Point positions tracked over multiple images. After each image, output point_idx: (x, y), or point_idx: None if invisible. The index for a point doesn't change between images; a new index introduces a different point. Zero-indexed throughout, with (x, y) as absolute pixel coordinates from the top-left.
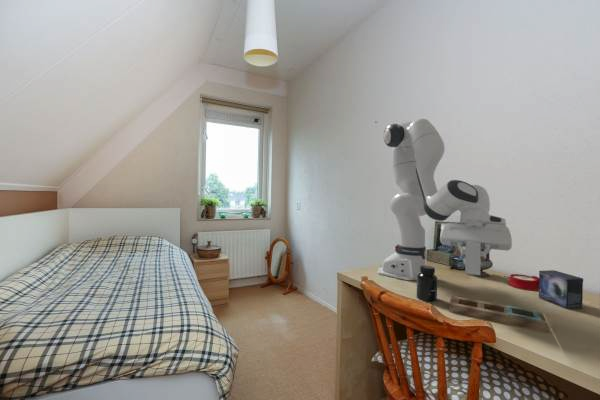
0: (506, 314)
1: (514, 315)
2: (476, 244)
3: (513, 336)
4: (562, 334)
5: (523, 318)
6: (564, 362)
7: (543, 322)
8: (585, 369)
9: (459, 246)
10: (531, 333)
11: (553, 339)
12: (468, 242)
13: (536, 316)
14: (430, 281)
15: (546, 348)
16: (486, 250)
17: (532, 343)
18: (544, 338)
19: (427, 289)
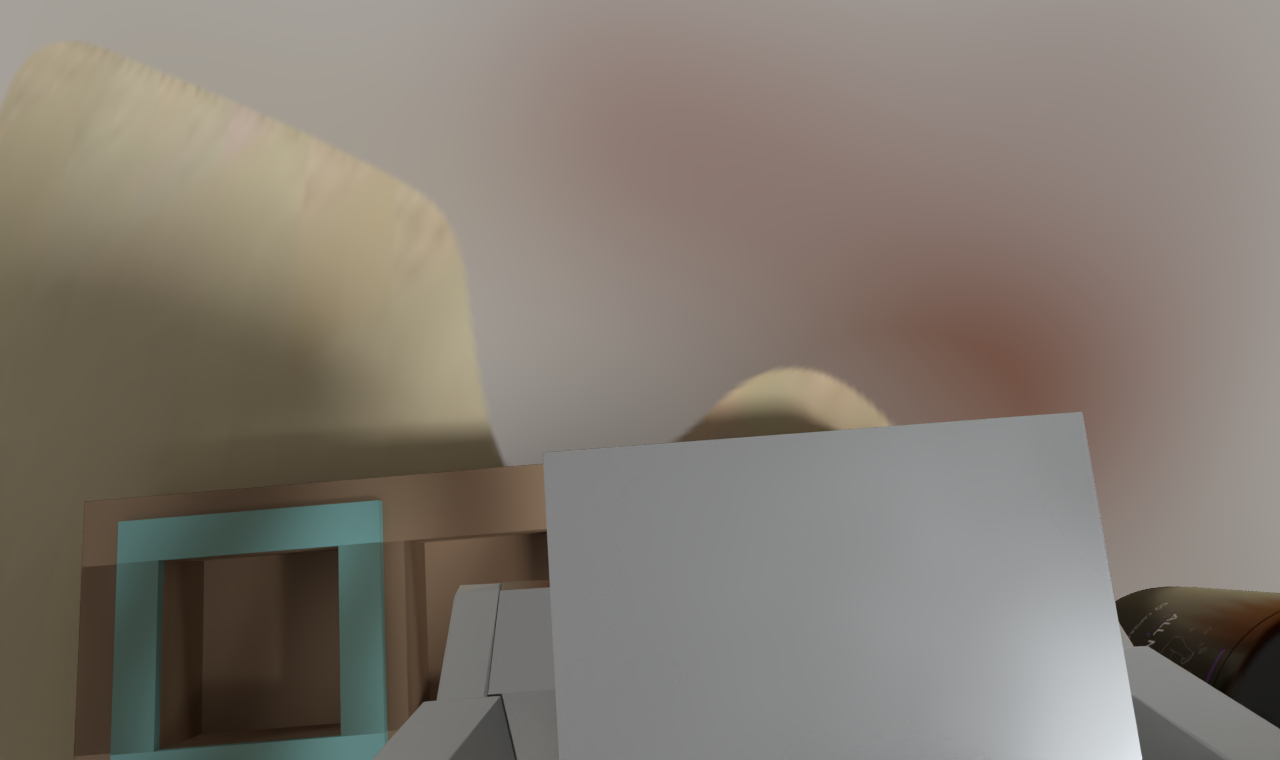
0: (393, 500)
1: (328, 506)
2: (686, 449)
3: (380, 288)
4: (33, 588)
5: (262, 491)
6: (135, 90)
7: (115, 502)
8: (47, 75)
9: (1240, 715)
10: (253, 442)
11: (121, 427)
12: (979, 423)
13: (144, 602)
14: (1260, 621)
15: (197, 227)
16: (419, 726)
17: (270, 250)
18: (178, 403)
19: (1219, 596)
